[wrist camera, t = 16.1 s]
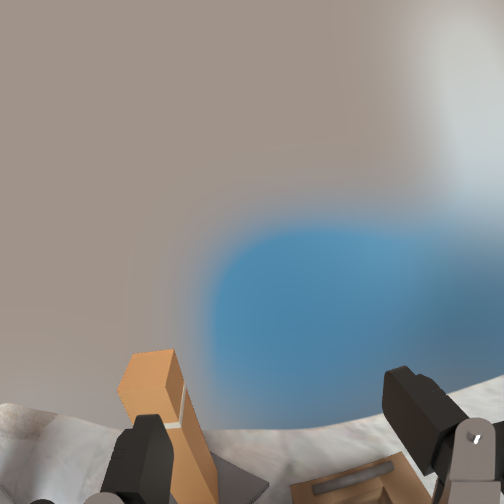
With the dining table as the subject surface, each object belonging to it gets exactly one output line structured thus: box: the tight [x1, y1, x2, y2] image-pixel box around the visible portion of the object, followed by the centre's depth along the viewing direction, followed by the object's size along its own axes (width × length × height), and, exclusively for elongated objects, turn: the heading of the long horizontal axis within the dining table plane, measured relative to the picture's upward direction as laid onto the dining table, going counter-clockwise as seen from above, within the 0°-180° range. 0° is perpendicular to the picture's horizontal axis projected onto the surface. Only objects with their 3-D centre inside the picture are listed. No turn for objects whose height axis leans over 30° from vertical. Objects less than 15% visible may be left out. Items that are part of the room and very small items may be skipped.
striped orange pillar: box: [117, 349, 219, 504], centre depth 26 cm, size 4×6×18 cm
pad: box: [169, 451, 269, 504], centre depth 28 cm, size 11×11×1 cm
